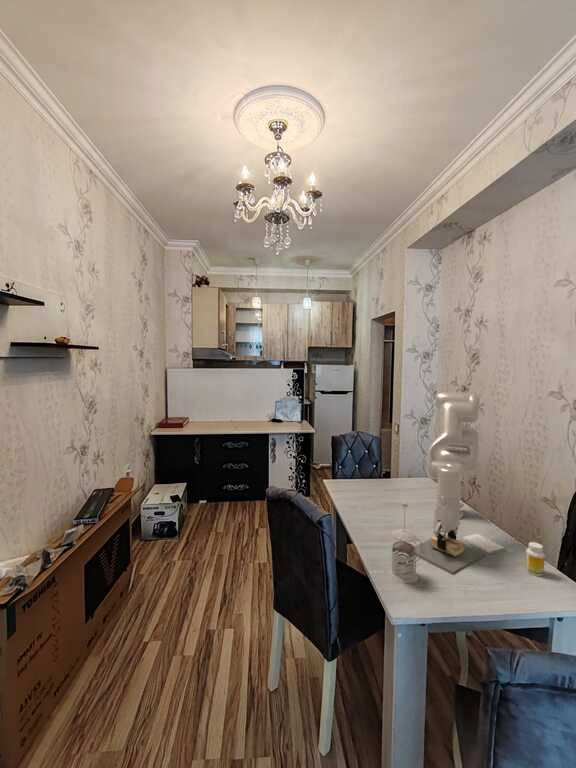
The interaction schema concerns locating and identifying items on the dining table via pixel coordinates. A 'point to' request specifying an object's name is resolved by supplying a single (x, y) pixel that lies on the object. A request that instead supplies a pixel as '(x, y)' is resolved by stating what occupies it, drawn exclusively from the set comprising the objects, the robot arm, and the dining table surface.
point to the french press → (401, 568)
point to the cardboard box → (449, 545)
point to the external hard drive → (484, 543)
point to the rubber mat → (448, 557)
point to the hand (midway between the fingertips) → (446, 546)
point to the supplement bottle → (535, 559)
